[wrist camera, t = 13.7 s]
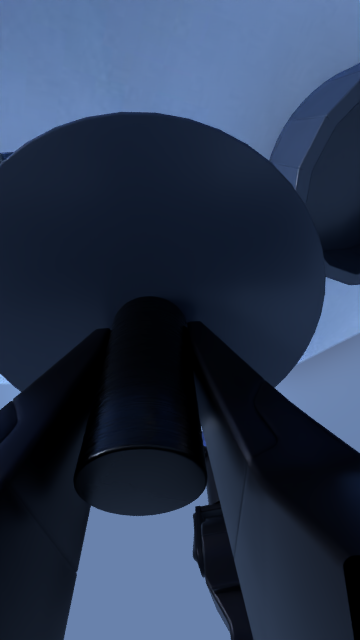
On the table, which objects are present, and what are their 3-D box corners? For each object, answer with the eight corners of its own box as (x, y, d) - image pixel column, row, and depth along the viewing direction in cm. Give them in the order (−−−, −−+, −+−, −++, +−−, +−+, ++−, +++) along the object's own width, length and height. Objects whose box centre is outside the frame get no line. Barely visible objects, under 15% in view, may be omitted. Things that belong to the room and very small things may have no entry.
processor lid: (284, 402, 13) (360, 567, 8) (43, 423, 13) (-31, 604, 8) (351, 100, 7) (839, 9, 2) (-108, 129, 7) (-873, 112, 2)
